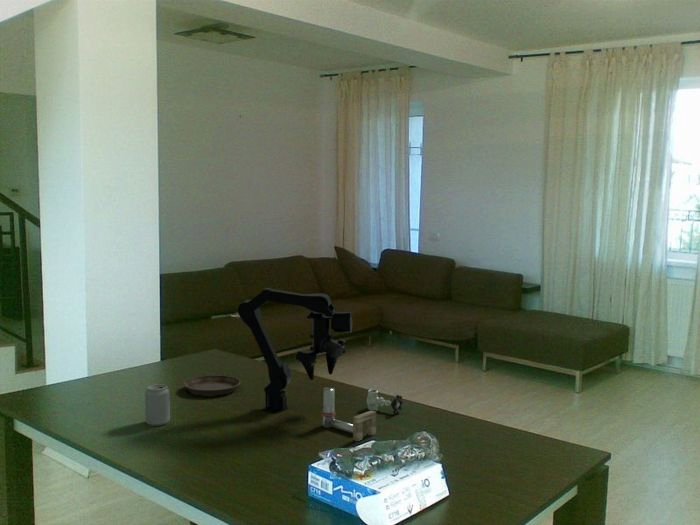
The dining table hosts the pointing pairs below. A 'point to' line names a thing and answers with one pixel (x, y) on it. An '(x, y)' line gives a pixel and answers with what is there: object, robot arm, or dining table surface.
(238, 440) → the dining table surface
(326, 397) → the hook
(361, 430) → the beige arch block
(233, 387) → the plant saucer
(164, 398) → the can
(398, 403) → the valve
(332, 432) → the dining table surface
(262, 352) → the robot arm
